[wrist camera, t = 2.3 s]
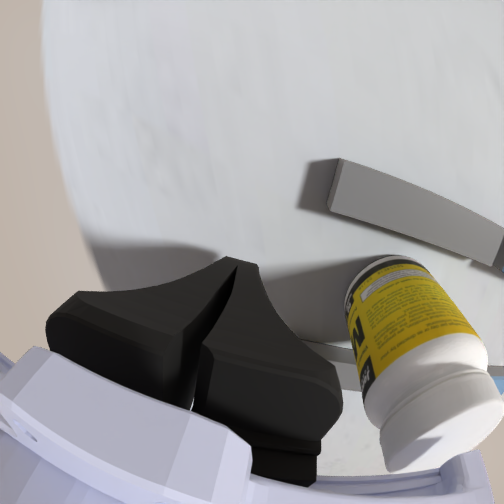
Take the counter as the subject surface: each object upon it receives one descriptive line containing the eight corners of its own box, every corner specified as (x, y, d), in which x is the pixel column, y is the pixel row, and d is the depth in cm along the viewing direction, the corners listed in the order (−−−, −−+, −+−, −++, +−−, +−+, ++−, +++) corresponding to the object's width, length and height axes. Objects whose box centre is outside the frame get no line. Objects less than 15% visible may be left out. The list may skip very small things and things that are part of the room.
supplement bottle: (327, 281, 13) (353, 449, 5) (416, 235, 11) (529, 358, 3) (360, 348, 14) (387, 490, 6) (436, 311, 12) (504, 434, 5)
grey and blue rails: (492, 384, 14) (498, 397, 13) (272, 361, 15) (269, 382, 13) (561, 265, 10) (573, 275, 8) (339, 157, 10) (346, 160, 9)
